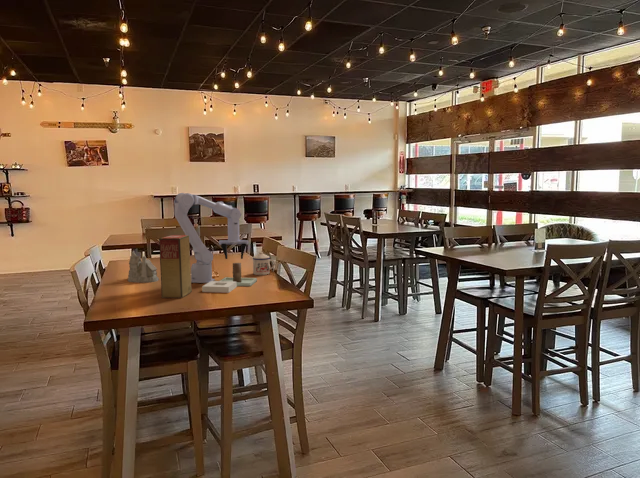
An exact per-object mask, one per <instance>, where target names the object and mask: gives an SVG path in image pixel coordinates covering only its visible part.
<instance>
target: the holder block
mask: <svg viewBox="0 0 640 478" xmlns="http://www.w3.org/2000/svg"><path fill="white" fill-rule="evenodd" d="M236 288H238V286H237V282H235V281H220V280H214V281H210V282H209V283H204V285H202V286H201V291H202V293H226V294H229V293H231V292H232V291H233V290H235V289H236Z"/></svg>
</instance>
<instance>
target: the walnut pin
mask: <svg viewBox="0 0 640 478" xmlns="http://www.w3.org/2000/svg"><path fill="white" fill-rule="evenodd" d="M232 278H233V281H235V282H242V281H241V278H242V262H232Z"/></svg>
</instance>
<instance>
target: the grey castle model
mask: <svg viewBox="0 0 640 478" xmlns="http://www.w3.org/2000/svg"><path fill="white" fill-rule="evenodd" d="M128 265H129V270H128V277H127V282H129V283H142V284H143V283H146V284H148V283H154V282H156V283H157V282H158V281H159V280H160V279H159V277H158V276H157V275H158V272H157V270H158V267H156V266H155V265H154V264H153V263H152V261H151V260H150V259H149V258H148V259H147V257H146V255H143V256H142V258H141V257H140V255H137V254H136V253H135V251H132V252H131V255H130V257H129V261H128Z"/></svg>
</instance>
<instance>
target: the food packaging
mask: <svg viewBox="0 0 640 478" xmlns="http://www.w3.org/2000/svg"><path fill="white" fill-rule="evenodd" d="M158 241H159V262H160V263H159V265H160V268H159V269H160V284H161V285H160V288H161V291H160V292H161V299H183V298H184V297H186V296H187V295H189V294H190V293H192V283H191V254H190V253H191V250H190V249H191V247H190V242H189V235H185V234H182V235H181V234H180V235H179V234H172V235H167V236H163V237H161V238H159V239H158Z"/></svg>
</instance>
